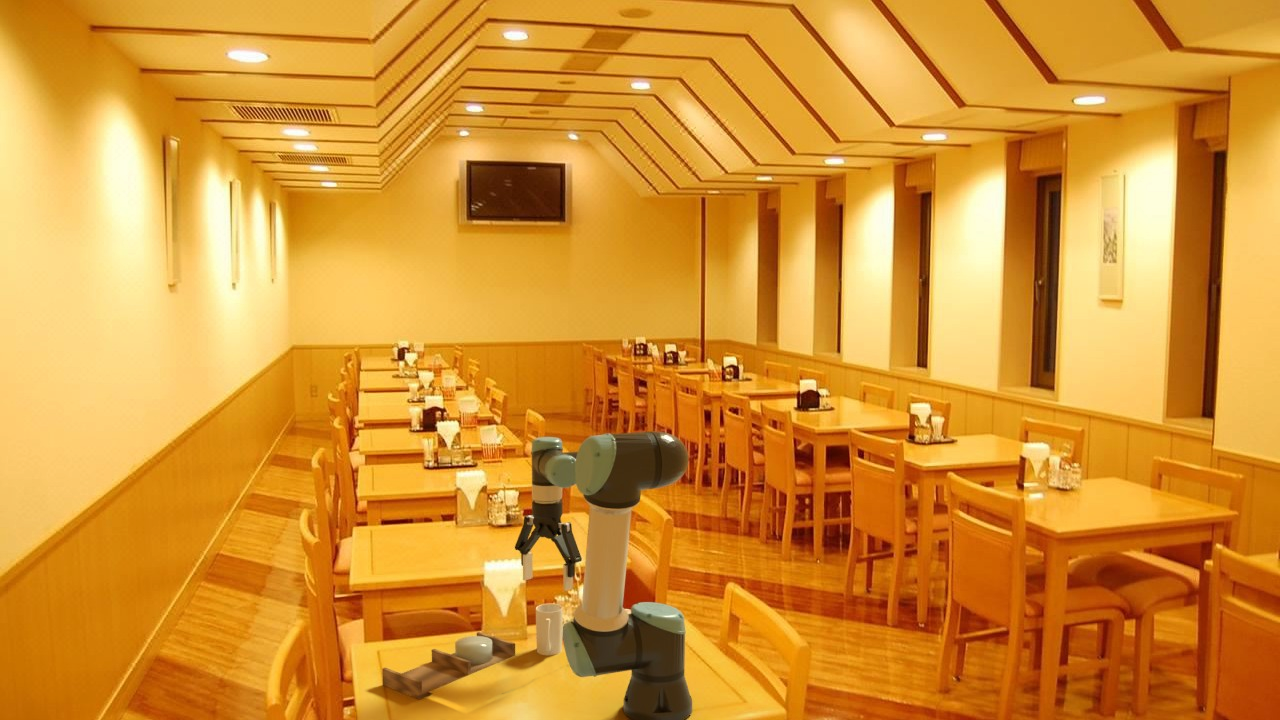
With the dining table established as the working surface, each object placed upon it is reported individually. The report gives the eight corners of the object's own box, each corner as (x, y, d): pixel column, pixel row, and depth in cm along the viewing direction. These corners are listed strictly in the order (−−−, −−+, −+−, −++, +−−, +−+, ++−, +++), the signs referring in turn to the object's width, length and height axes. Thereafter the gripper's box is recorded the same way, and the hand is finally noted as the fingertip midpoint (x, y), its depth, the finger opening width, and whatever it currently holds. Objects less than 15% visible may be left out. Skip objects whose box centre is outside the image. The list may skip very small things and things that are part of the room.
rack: (515, 659, 252) (515, 643, 251) (419, 699, 228) (419, 682, 227) (479, 647, 260) (478, 631, 259) (382, 685, 236) (382, 668, 235)
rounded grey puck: (500, 657, 250) (499, 641, 250) (473, 668, 243) (472, 652, 243) (474, 648, 256) (474, 633, 255) (447, 659, 249) (447, 643, 248)
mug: (537, 649, 258) (537, 603, 257) (563, 649, 258) (563, 603, 257) (533, 664, 248) (533, 616, 247) (560, 664, 248) (560, 616, 247)
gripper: (595, 504, 245) (595, 590, 247) (521, 490, 260) (522, 571, 262) (575, 510, 239) (575, 597, 241) (500, 495, 254) (501, 578, 256)
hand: (547, 584), depth 252 cm, fingers open, 13 cm apart
